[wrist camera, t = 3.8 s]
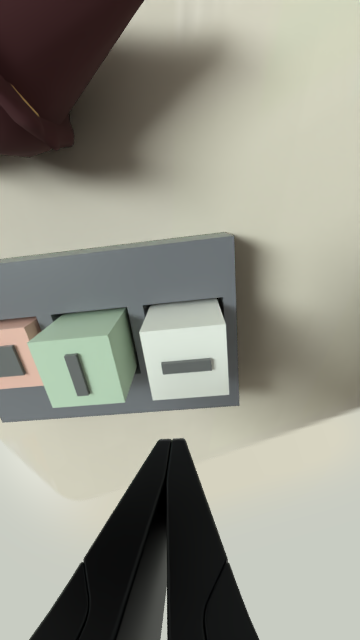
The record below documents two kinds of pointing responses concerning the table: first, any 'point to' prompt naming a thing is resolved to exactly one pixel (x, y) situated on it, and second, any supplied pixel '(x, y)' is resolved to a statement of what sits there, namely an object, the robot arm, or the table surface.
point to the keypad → (115, 292)
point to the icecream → (51, 66)
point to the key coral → (18, 353)
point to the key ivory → (185, 350)
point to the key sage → (86, 358)
